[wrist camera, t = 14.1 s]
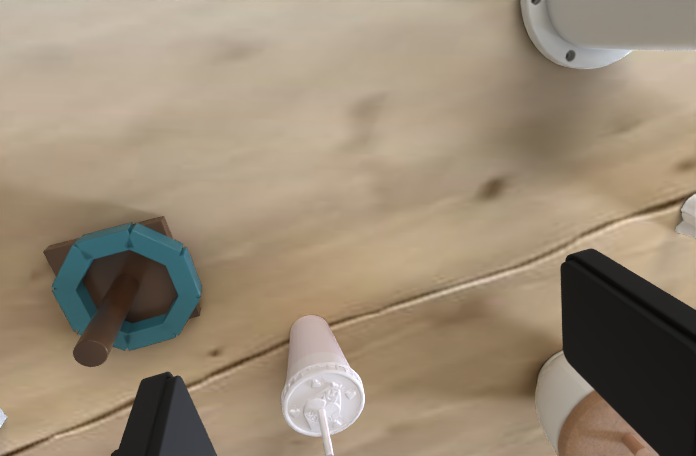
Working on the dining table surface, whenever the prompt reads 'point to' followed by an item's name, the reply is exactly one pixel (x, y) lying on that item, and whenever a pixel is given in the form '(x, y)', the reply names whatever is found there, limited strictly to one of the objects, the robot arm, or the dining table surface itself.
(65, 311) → the ring
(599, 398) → the lidded bowl
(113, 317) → the brown peg stand
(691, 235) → the white twin peak shape
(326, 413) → the smoothie
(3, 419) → the white milk carton
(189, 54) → the dining table surface
